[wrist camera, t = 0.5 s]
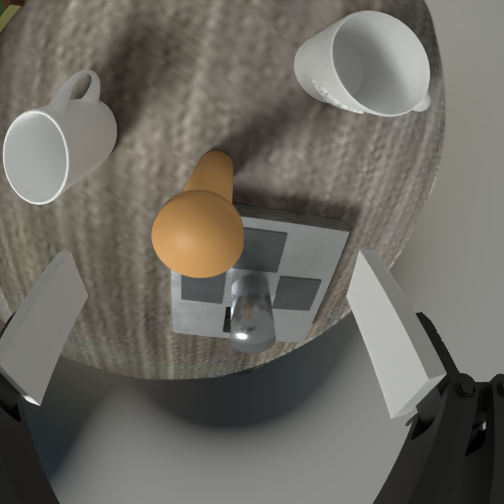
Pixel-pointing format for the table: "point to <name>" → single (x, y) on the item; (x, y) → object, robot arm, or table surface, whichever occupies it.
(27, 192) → the mug
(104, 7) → the table surface
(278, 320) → the checkered knob plate
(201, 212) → the tan wooden pestle
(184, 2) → the table surface
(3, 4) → the hardcover book
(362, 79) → the mug
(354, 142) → the table surface
